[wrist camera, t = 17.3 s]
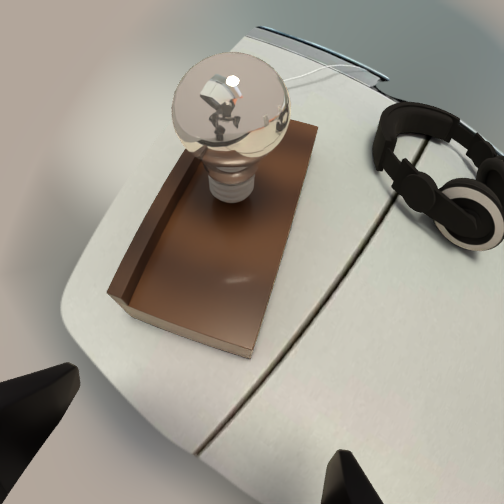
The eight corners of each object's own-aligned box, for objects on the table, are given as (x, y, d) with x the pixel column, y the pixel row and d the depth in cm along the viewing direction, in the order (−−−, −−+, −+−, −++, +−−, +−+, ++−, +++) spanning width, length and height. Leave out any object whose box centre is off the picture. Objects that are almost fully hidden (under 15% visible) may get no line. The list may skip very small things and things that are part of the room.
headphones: (504, 239, 19) (348, 100, 29) (459, 286, 26) (336, 157, 35) (547, 180, 24) (435, 85, 33) (518, 220, 30) (420, 128, 40)
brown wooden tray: (250, 359, 23) (253, 345, 18) (130, 316, 24) (106, 292, 19) (311, 154, 33) (321, 115, 28) (223, 132, 34) (222, 93, 29)
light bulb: (293, 208, 24) (327, 73, 14) (214, 250, 22) (199, 109, 12) (246, 153, 27) (252, 27, 16) (173, 185, 25) (146, 54, 14)
